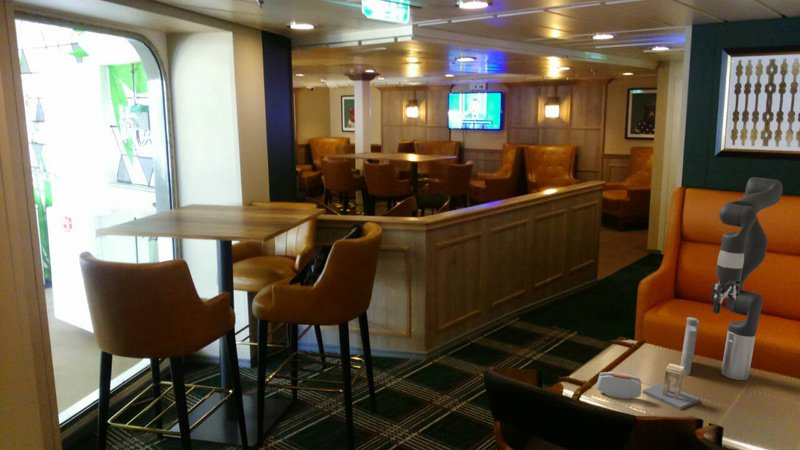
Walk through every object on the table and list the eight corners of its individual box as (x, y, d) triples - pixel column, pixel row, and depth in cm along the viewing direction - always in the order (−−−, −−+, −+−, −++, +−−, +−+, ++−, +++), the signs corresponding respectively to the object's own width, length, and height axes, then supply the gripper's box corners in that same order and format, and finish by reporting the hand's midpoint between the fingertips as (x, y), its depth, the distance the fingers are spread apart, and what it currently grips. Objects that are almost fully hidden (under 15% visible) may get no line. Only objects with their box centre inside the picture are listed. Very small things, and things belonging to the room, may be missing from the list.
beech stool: (665, 390, 219) (669, 363, 217) (680, 394, 217) (684, 367, 215) (662, 394, 215) (666, 367, 213) (677, 399, 213) (681, 371, 211)
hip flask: (689, 375, 235) (697, 325, 231) (677, 373, 237) (685, 323, 233) (692, 361, 249) (699, 314, 245) (681, 359, 251) (688, 311, 247)
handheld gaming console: (639, 397, 214) (642, 376, 213) (640, 401, 211) (643, 379, 210) (595, 390, 218) (598, 369, 216) (596, 394, 215) (598, 372, 214)
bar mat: (662, 385, 225) (662, 382, 225) (699, 401, 214) (699, 398, 214) (642, 392, 218) (643, 390, 218) (680, 409, 207) (680, 406, 207)
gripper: (729, 259, 213) (722, 305, 217) (707, 264, 205) (700, 311, 208) (752, 264, 208) (744, 311, 211) (730, 269, 199) (722, 318, 202)
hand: (722, 311), depth 209 cm, fingers open, 8 cm apart
